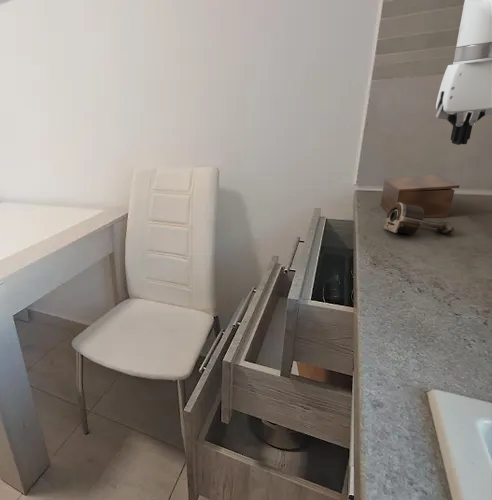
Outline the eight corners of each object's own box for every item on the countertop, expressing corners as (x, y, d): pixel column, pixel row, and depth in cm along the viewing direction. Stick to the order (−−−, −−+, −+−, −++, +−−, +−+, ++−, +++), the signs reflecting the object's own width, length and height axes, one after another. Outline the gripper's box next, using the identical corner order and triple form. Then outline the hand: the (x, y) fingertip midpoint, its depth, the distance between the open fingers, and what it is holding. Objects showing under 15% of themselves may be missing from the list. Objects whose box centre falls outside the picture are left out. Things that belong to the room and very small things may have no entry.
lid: (438, 177, 94) (438, 174, 94) (459, 187, 85) (459, 185, 85) (384, 180, 98) (384, 178, 98) (398, 191, 89) (399, 189, 88)
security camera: (386, 200, 88) (383, 203, 80) (456, 199, 80) (460, 203, 73) (384, 230, 89) (381, 236, 81) (453, 232, 82) (456, 239, 74)
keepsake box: (428, 203, 98) (434, 179, 95) (448, 217, 88) (454, 190, 86) (380, 205, 101) (384, 181, 98) (394, 218, 91) (398, 192, 89)
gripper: (509, 49, 79) (489, 138, 86) (427, 60, 83) (414, 144, 90) (534, 47, 72) (509, 143, 79) (443, 59, 76) (427, 149, 83)
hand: (459, 143), depth 84 cm, fingers closed
